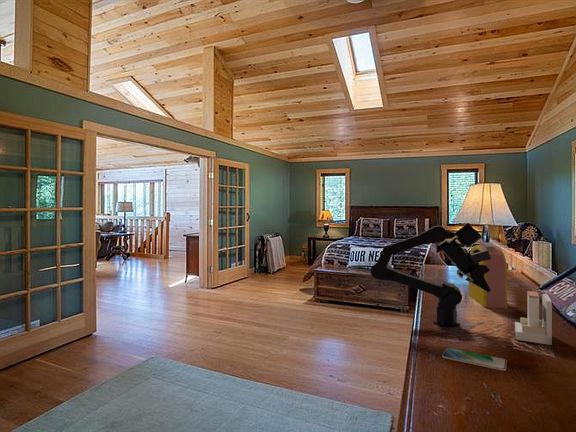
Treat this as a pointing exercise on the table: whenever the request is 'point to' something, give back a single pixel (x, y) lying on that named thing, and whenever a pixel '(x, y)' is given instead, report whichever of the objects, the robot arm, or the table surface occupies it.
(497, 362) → the smartphone
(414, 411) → the table surface
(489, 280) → the yellow tall block
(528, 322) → the off-white rectangular block
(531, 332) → the cream l-shaped bracket
